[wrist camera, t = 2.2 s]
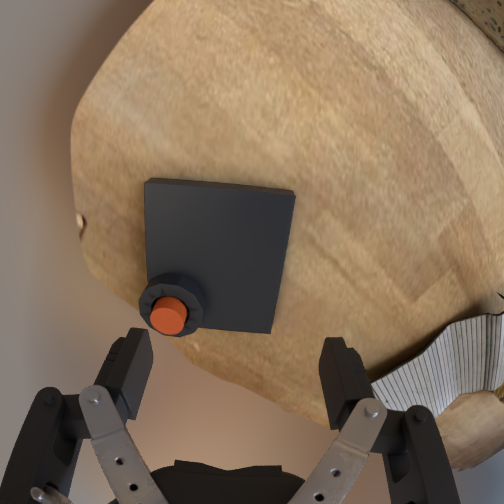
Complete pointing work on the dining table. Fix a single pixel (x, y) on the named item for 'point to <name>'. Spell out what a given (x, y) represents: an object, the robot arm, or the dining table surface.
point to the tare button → (168, 315)
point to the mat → (448, 366)
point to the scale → (216, 252)
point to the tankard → (500, 393)
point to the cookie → (486, 17)
